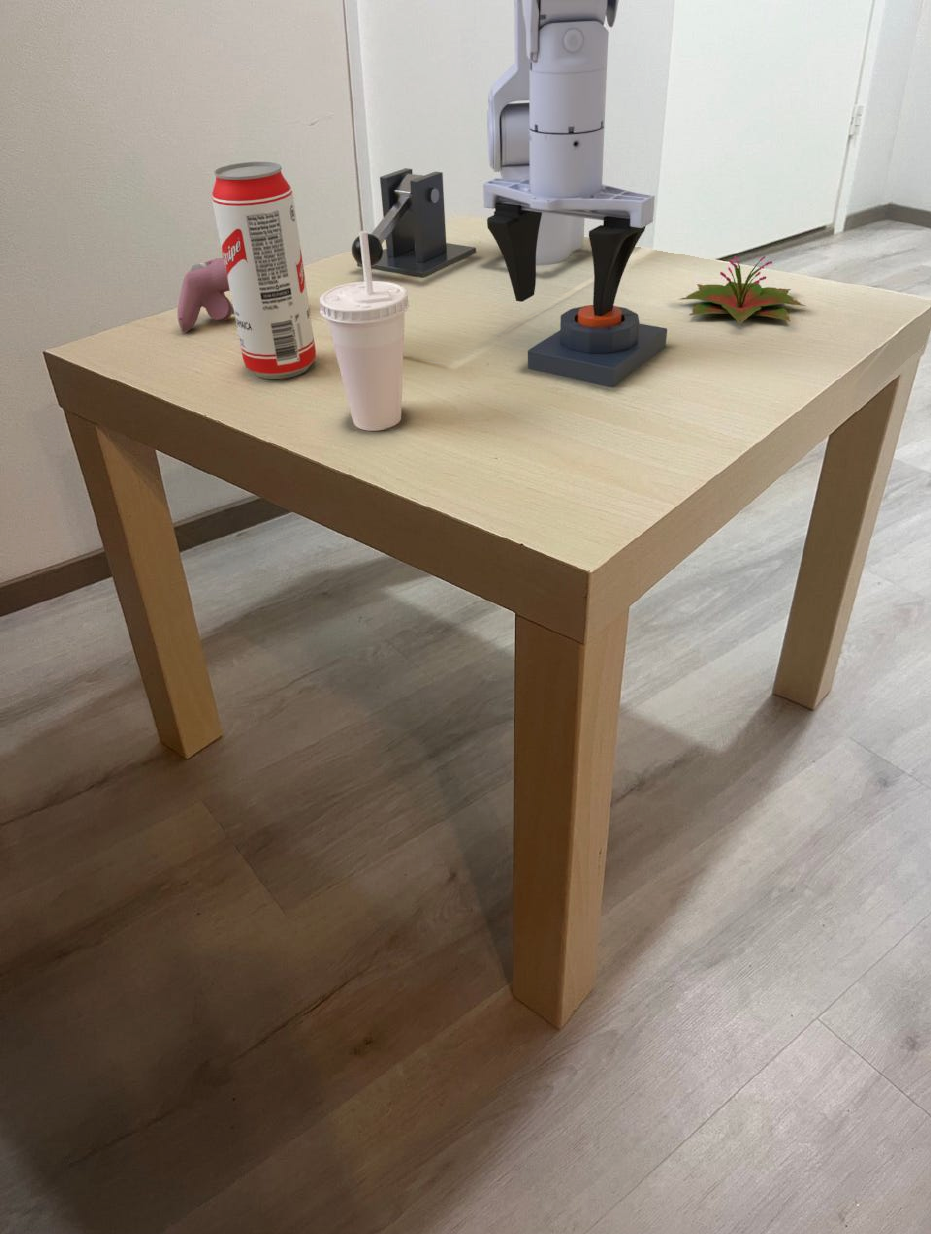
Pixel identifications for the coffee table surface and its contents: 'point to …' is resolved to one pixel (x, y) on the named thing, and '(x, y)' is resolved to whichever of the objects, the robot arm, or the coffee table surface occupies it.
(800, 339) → the coffee table surface
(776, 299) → the lily flower
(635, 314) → the button box
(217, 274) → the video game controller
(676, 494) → the coffee table surface
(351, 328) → the smoothie
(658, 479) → the coffee table surface
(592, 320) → the button
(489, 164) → the robot arm
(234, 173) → the beer can
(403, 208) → the lever
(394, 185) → the bracket
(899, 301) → the coffee table surface
